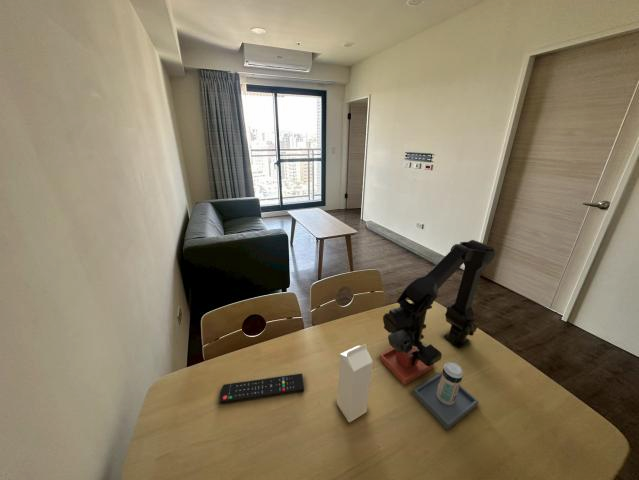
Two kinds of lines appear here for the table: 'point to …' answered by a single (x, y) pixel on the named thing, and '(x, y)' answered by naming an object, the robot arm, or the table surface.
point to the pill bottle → (449, 383)
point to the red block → (406, 358)
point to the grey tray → (440, 410)
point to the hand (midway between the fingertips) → (406, 358)
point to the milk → (354, 382)
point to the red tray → (400, 370)
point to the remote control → (261, 388)
